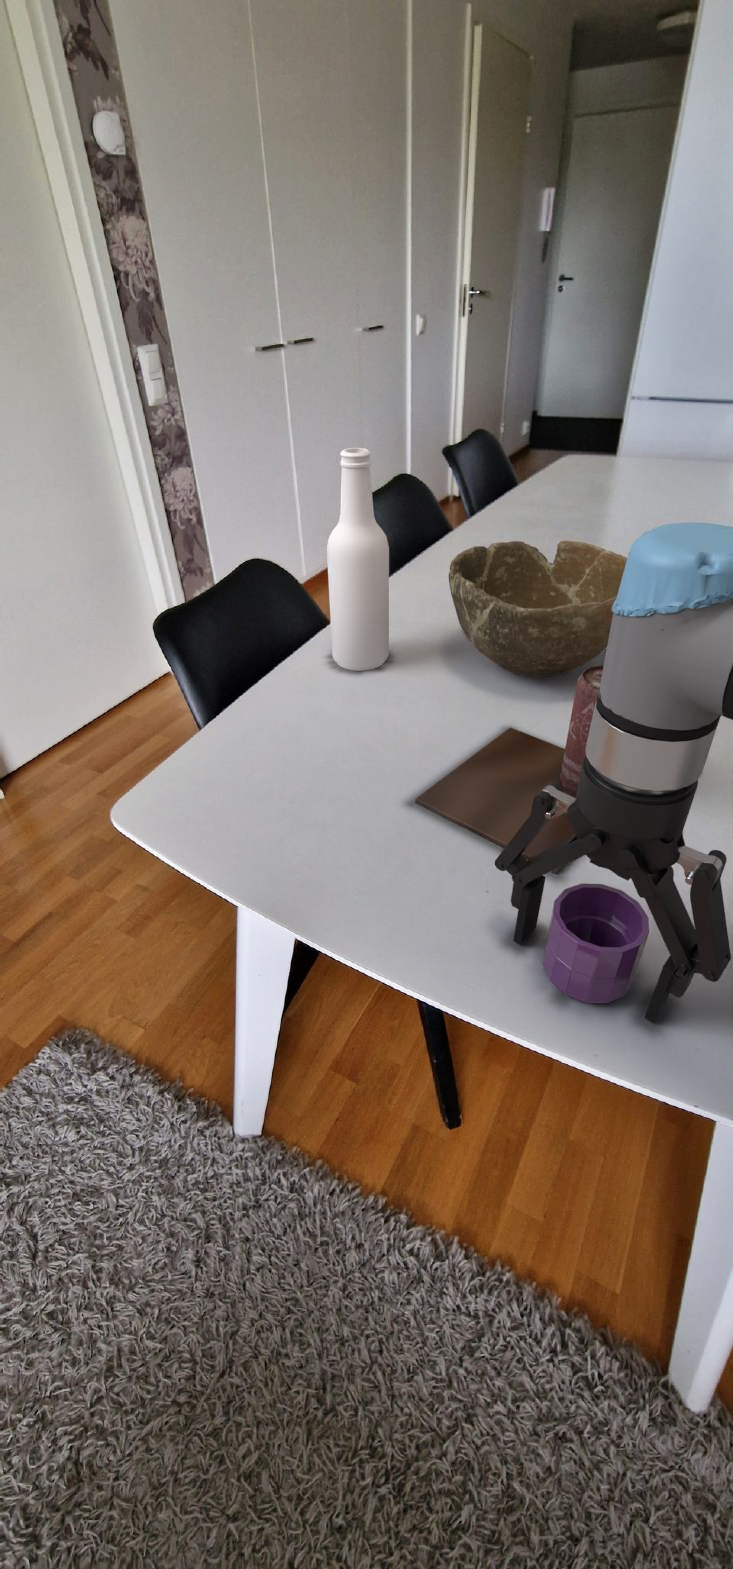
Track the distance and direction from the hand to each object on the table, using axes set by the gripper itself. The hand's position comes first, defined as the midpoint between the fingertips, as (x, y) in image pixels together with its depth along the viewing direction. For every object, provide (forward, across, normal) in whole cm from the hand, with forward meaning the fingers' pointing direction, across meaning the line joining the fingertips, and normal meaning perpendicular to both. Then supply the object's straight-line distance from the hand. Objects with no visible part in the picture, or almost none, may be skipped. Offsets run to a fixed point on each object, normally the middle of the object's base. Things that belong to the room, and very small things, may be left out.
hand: (586, 970), depth 61 cm
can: (0, +12, -24) cm, 27 cm away
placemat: (0, +17, -19) cm, 25 cm away
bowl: (0, +34, -48) cm, 59 cm away
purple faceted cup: (0, 0, 0) cm, 0 cm away
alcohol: (0, +55, -32) cm, 64 cm away
